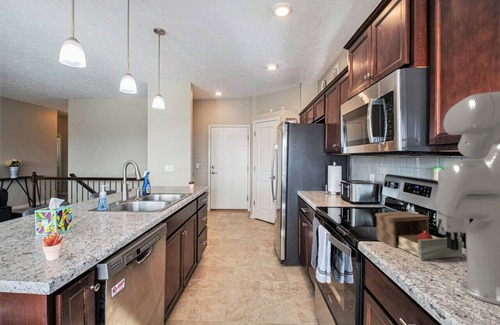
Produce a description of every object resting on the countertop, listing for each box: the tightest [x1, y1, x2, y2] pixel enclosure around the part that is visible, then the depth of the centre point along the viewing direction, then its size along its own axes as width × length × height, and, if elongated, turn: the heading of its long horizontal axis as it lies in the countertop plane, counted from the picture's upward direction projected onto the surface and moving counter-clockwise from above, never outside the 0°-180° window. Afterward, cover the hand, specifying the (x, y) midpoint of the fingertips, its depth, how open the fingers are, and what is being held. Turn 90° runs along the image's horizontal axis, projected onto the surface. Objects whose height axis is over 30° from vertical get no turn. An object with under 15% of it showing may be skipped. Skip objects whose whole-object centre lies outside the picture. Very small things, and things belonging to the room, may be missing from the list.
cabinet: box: [374, 210, 430, 249], centre depth 117 cm, size 12×19×14 cm
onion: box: [417, 231, 433, 241], centre depth 103 cm, size 6×6×8 cm
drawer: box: [397, 234, 463, 261], centre depth 103 cm, size 15×19×8 cm
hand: (452, 248), depth 91 cm, fingers closed
